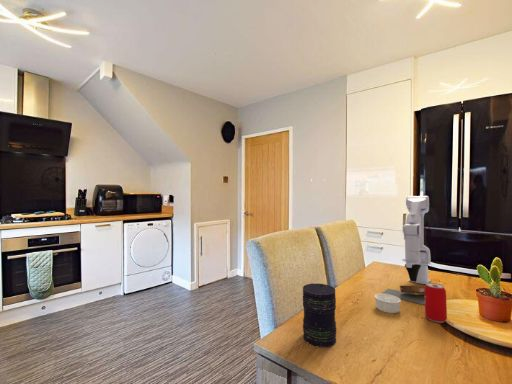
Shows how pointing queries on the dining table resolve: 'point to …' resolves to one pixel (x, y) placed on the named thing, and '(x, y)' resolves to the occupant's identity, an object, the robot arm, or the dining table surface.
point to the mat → (406, 296)
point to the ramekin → (387, 303)
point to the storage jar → (319, 315)
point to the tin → (412, 289)
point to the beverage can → (435, 302)
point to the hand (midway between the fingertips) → (413, 280)
